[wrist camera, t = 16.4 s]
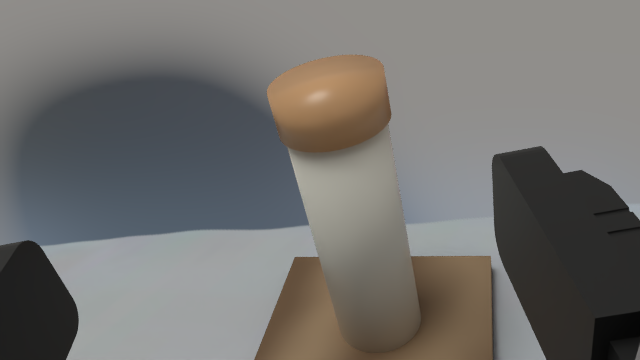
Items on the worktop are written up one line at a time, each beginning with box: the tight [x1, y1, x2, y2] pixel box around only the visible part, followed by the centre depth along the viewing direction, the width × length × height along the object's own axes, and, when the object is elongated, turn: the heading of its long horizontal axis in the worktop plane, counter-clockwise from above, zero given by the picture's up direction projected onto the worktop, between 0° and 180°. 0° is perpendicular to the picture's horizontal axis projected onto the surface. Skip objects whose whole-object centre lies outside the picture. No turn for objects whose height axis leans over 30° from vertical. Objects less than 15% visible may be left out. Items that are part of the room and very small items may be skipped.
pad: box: [254, 256, 493, 360], centre depth 30 cm, size 12×10×1 cm
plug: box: [267, 55, 421, 353], centre depth 26 cm, size 5×5×14 cm
